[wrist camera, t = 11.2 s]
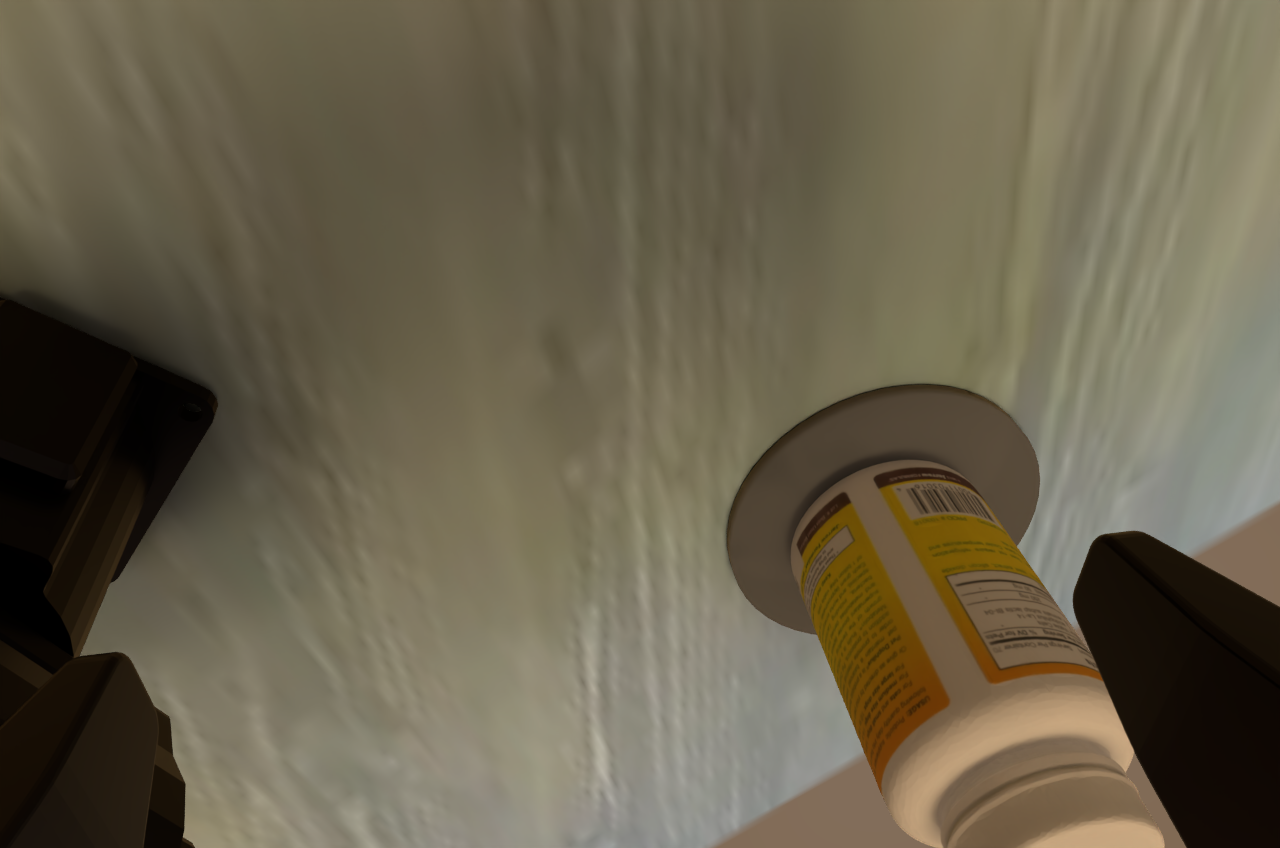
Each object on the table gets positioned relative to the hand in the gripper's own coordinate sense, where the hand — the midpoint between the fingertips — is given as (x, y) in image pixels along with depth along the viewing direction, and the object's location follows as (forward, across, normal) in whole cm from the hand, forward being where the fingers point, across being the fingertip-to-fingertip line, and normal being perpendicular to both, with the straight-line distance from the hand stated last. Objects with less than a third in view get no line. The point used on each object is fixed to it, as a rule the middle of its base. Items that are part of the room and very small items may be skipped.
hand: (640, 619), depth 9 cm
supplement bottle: (+13, -9, +11) cm, 19 cm away
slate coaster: (+13, -9, +11) cm, 19 cm away
